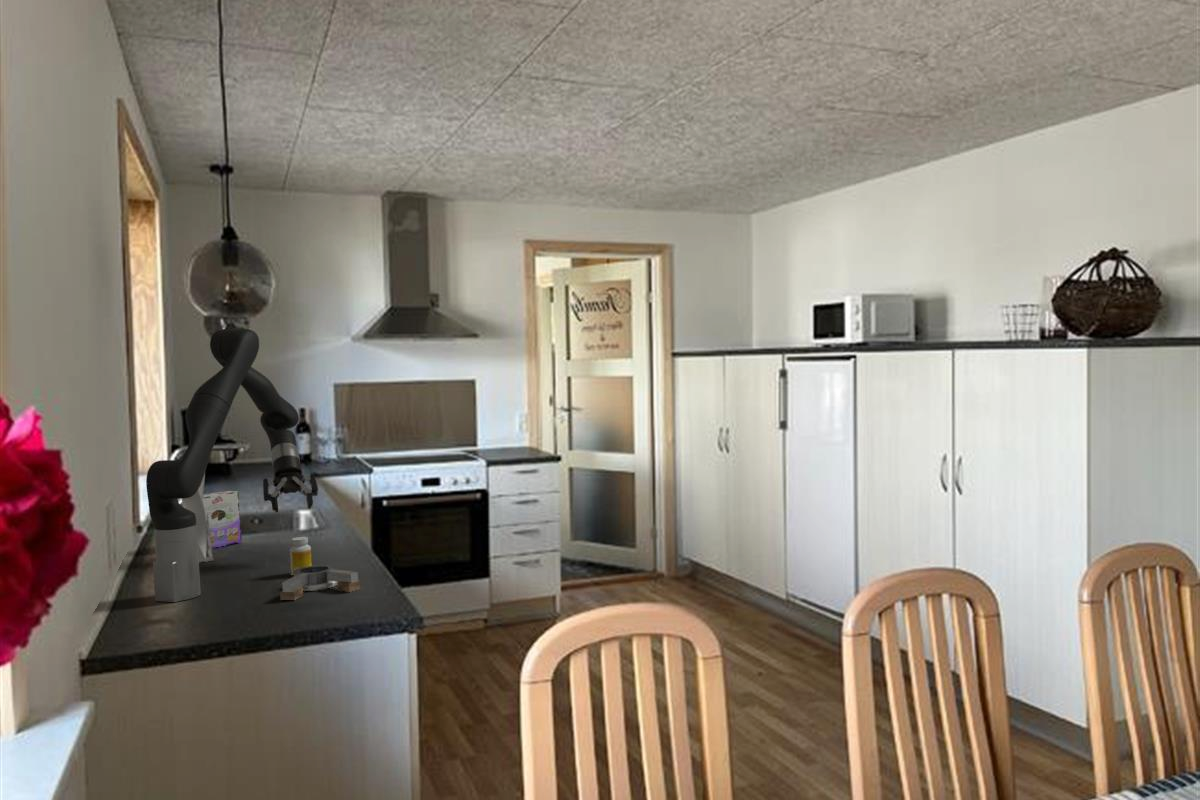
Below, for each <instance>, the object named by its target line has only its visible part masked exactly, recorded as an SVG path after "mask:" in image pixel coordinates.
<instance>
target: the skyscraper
mask: <svg viewBox="0 0 1200 800" xmlns="http://www.w3.org/2000/svg"><path fill="white" fill-rule="evenodd" d="M205 479H206V473H205V474H204V477H203V480H202V483H201V485H200V487H199V489H198V491H197V492H196V493H195V494H194V495H193V496H192V497H189V498H183V499H181V506H182V507H184V508H185V509H187V510H190V511H192V512H193V513H195V515H196V527H197V544H198V559H199V564H202V563H201V562H206V563H209V562H208V561H214V555H213V554H214V553H213V549H212V544H211V529H209V520H208V515H205V509H204V505H203V495H204V491H205ZM206 516H207V521H206Z"/></svg>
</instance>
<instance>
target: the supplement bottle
mask: <svg viewBox="0 0 1200 800" xmlns="http://www.w3.org/2000/svg"><path fill="white" fill-rule="evenodd" d="M308 538H309V537H308V536H298V537H293V538H292V539H291V545H292V546H291V547H290V548H289V562H290V563H289V565H290V566H289V567H290V575H291V576H292V575H294V576H295V571H296V570H297V569H300V568H303V567H308V566H313V562H312V547H311V545H310V544H308V543H309V539H308ZM294 576H293V577H294Z"/></svg>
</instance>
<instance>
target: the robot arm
mask: <svg viewBox="0 0 1200 800" xmlns="http://www.w3.org/2000/svg"><path fill="white" fill-rule="evenodd" d="M209 340H210V341H209V348H210V349H209V350H210V351H211V354H212V356H213V358H214V359H215V361H217V363H218V364H219V365H220V366H221V367H222V368H221V369H220V370H219V371H218V372H217V373H215V374H214V375H213V376H211V377H210V378H208V380H206V381H205V382H204V383H202V384H201V385H200V386H199V387H198V388H197V390H195V392H194V394H193V396H192V398H191V399H190V402H189V404H188V407H187V408H186V411H185V416H184V417H185V418H184V419H185V425H186V429H187V432H188V436H189V442H188V446H187V448H186V451H185V453H184V455H183V456H182V458H180V459H170V460H169V459H168V460H163V459H162V460H157V461H155V462H153V463H151V465H150V466H149V467H148V469H147V473H146V479H145V484H146V494H147V501H148V503H147V504H148V511H149V516H150V518H151V520H152V523H153V531H154V533H153V534H154V549H155V551H154V552H155V560H154V561H153V562H152V572H153V585H154V587H153V588H154V601H155V602H166V603H167V602H169V603H177V602H180V601H181V602H182V601H187V600H190V599H194V598H196V597H199V596H200V595H201V593H202V591H201V579H200V563H199V559H198V544H197V527H196V515H195V513H193V512H192V511H190V510H187V509H185V508H184V507H182V504H181V503H180V502H179V499H183V498H189V497H192V496H193V495H194V494H195V493H196V492H197V491H198V489H199V487H200V485H201V483H202V480H203V477H204V474H205V475H206V470H207V468H208V467H207V466H208V463H209V460H210V457H211V455H212V454H211V453H212V451H213V448H214V446H215V443H216V441H217V438H218V436H219V434H220V431H221V429H222V428H223V425H224V424H225V421H226V419H227V416H228V414H229V412H230V410H231V406H232V404H233V403H234V402H233V401H234V399H235V397H236V395H237V393H238V391H239V389H240V387H242V388H243V390H244V391H246V393H247V394H248V396H249V398H250V399H251V400H252V402H253V404H254V405H255V407H256V408H257V410H259V412H261V415H260V420H259V421H260V425H261V427H262V429H263V430H264V433H265V434H266V435H267V437H268V441H269V444H270V453H271V456H270V457H271V465H272V471H273V472H272V473H273V479H271V480H269V479H268V478H266V477H265V478H263V480H262V490H263V491H262V492H263V493H262V494H263V500H264V502H268V501H270V503H271V510H272V511H273V512H274V513H279V503H278V499H279V498H280V497H281V495H282V494H285V495H286V494H290V493H292V494H296V493H297V492H298V493H299V494H300V495H303V496H304V497H306V498H305V499H306V505H307V509H311V508H312V507H313V505H314V501H313V500H314V499H313V497H314V496H315V497H316V496H318V494H319V493H318V492H319V491H318V490H319V488H318V484H317V479H316V476H315V474H314V473H310V475H309V476H305V475H304V474H303V472H302V471H303V470H302V465H301V459H300V453H299V451H298V444H297V440H296V436H295V434H294V432H293V431H292V430H290V429H291V428H295V427H296V426H297V425H298V423H299V421H300V420H299V419H300V417H299V413H298V410H296V408H295V407H294V406H293V405H292V404H291V403H290V402H288V401H287V400H286V399H284V398H283V397H282V396H281V395H280V394H279V392H278V391H277V389H276V388H275V386H274V384H273V383H272V382H271V380H269V378H267V376H265V375H264V374H262V373H261V372H259V370H257V369H255V368H254V367H252V366H253V364H254V362H255V360H256V358H257V356H258V353H259V350H260V338H259V335H258V333H256V332H255V331H254V330H252V329H249V328H222V329H217V330H215V331H214V333H212V335H211V337H210V339H209ZM305 483H307V484H308V485H310V488H311V489H310V488H309V487H308V486H307V484H305ZM272 486H274V487H275V489H274V490H273V492H272V493H269V490H270V488H272Z"/></svg>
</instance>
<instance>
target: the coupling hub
mask: <svg viewBox="0 0 1200 800" xmlns="http://www.w3.org/2000/svg"><path fill="white" fill-rule="evenodd" d="M333 569H335V568H334V566H332V565H331V564H330V565H329V564H317V565H312V566H308V567H303V568H300V569H297V570H296V571H295V576H296V575H298V574H308V583H307V584H305V585H303V586H302V587H303V591H304V592H303V593H306V592H305V591H313V592H319V591H318V590H321V591H324V589H326V590H328V589H327V588H330V589H332V588H331V587H333V588H335V587H334V586H336V585H337V582H338V581H330V580H327V571H329V570H333ZM336 587H337V586H336Z"/></svg>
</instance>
